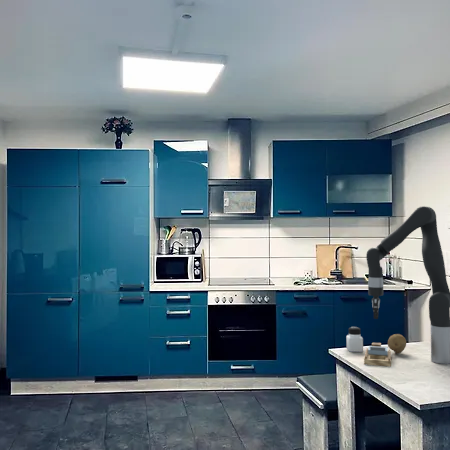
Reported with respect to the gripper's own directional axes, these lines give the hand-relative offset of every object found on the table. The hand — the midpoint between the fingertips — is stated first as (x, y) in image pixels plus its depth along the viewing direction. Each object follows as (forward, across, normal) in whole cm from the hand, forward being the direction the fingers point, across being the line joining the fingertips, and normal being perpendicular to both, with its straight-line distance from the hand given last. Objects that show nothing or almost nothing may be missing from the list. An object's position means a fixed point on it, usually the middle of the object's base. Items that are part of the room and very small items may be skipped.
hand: (376, 317), depth 252 cm
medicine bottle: (+18, +1, +11) cm, 21 cm away
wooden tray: (+18, -16, -1) cm, 24 cm away
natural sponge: (+18, 0, -10) cm, 21 cm away
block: (+18, 0, 0) cm, 18 cm away
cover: (+15, -13, -1) cm, 20 cm away
